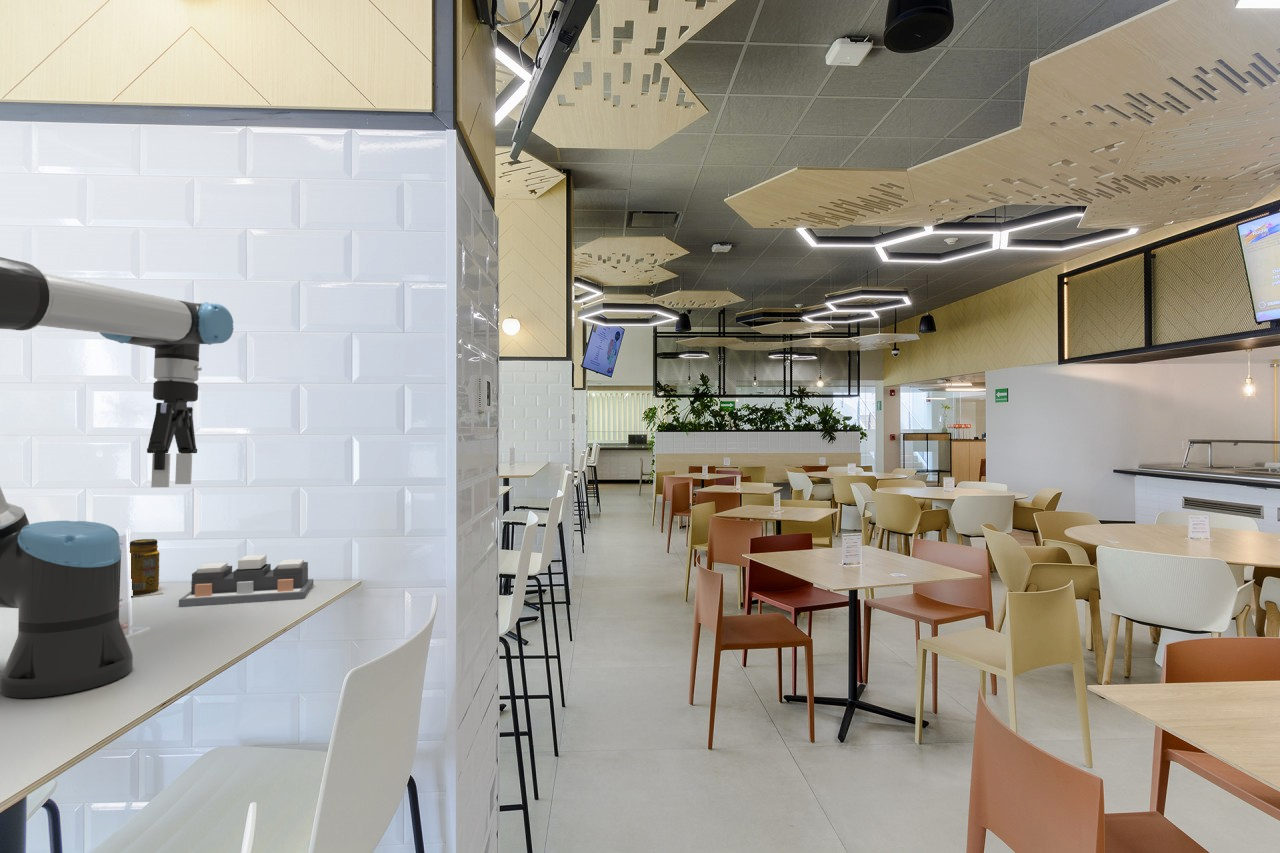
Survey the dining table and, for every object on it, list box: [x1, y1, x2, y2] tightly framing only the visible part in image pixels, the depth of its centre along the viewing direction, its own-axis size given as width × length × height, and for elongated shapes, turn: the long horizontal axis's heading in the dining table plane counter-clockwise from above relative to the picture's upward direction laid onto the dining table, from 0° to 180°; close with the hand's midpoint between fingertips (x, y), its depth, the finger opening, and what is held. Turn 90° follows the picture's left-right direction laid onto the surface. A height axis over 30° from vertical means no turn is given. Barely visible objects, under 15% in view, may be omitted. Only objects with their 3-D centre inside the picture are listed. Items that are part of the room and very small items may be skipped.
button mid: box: [237, 554, 267, 569], centre depth 154 cm, size 4×6×2 cm
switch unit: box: [178, 561, 314, 608], centre depth 153 cm, size 24×14×6 cm, turn 108°
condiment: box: [129, 538, 164, 598], centre depth 155 cm, size 7×8×12 cm
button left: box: [196, 562, 229, 573], centre depth 152 cm, size 4×6×2 cm
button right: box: [277, 558, 305, 569], centre depth 157 cm, size 4×6×2 cm
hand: (172, 485), depth 136 cm, fingers open, 13 cm apart
